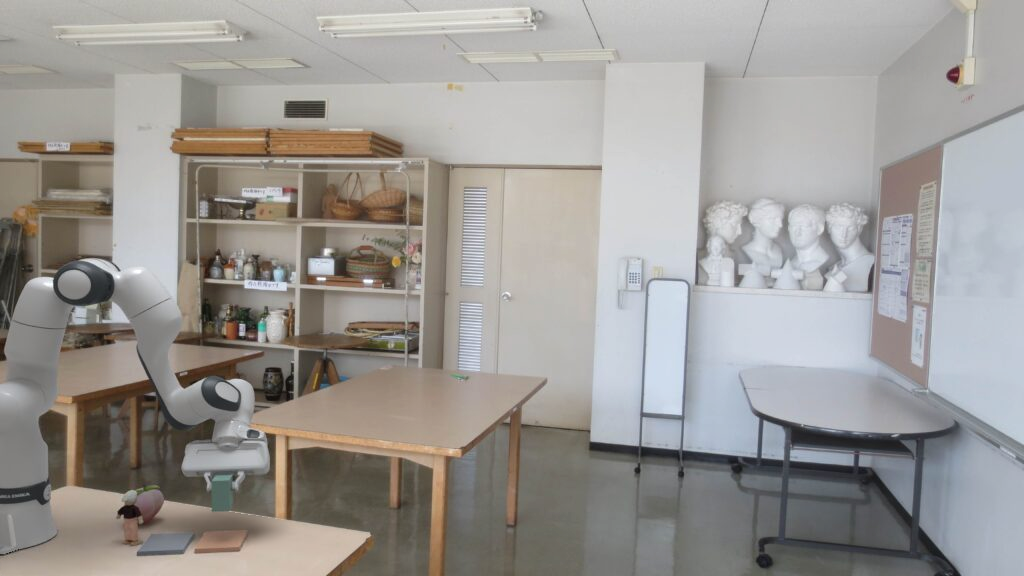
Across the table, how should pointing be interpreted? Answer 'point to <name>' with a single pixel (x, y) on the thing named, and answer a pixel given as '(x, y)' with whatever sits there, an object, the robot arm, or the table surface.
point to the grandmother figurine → (130, 518)
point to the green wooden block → (222, 493)
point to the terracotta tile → (221, 541)
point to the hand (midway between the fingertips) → (222, 490)
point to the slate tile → (166, 543)
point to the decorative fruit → (149, 501)
